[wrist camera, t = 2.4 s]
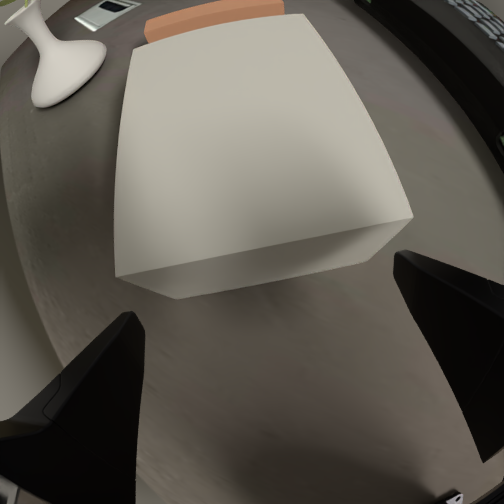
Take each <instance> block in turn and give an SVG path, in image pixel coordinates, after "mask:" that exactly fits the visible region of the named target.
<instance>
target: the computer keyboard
mask: <svg viewBox="0 0 504 504" xmlns="http://www.w3.org/2000/svg"><path fill="white" fill-rule="evenodd" d="M354 2H355V3H356V4H357V5H359V6H360V7H361V8H363V9H364V10H365V11H367V12H368V13H369V14H370V15H372V16H373V17H374V18H375V19H377V20H378V21H379V22H380V23H381V24H383V25H384V26H385V27H386V28H387V29H388V30H390V31H391V32H392V33H393V34H394V35H395V36H396V37H397V38H399V39H400V40H401V41H402V42H403V43H404V44H405V45H406V46H407V47H408V48H409V49H410V50H411V51H412V52H413V53H414V54H415V55H416V56H417V57H418V58H419V59H420V60H421V61H422V62H423V63H424V64H425V65H426V66H427V67H428V68H429V69H430V70H431V72H432V73H433V74H434V75H435V76H436V77H437V78H438V79H439V81H440V82H441V83H442V84H443V85H444V86H445V88H446V89H447V90H448V91H449V92H450V94H451V95H452V96H453V97H454V99H455V100H456V101H457V103H458V104H459V105H460V106H461V108H462V109H463V110H464V112H465V113H466V115H467V116H468V117H469V119H470V120H471V121H472V123H473V124H474V126H475V127H476V129H477V130H478V132H479V133H480V135H481V136H482V138H483V139H484V141H485V142H486V144H487V146H488V147H489V149H490V150H491V152H492V154H493V155H494V157H495V159H496V161H497V162H498V164H499V166H500V168H501V169H502V171H503V173H504V22H503V21H502V20H501V19H500V18H499V17H497V16H496V15H495V14H494V13H493V12H492V11H490V10H489V9H488V8H487V7H485V6H484V5H483V4H482V3H480V2H477V1H475V0H354Z"/></svg>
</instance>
